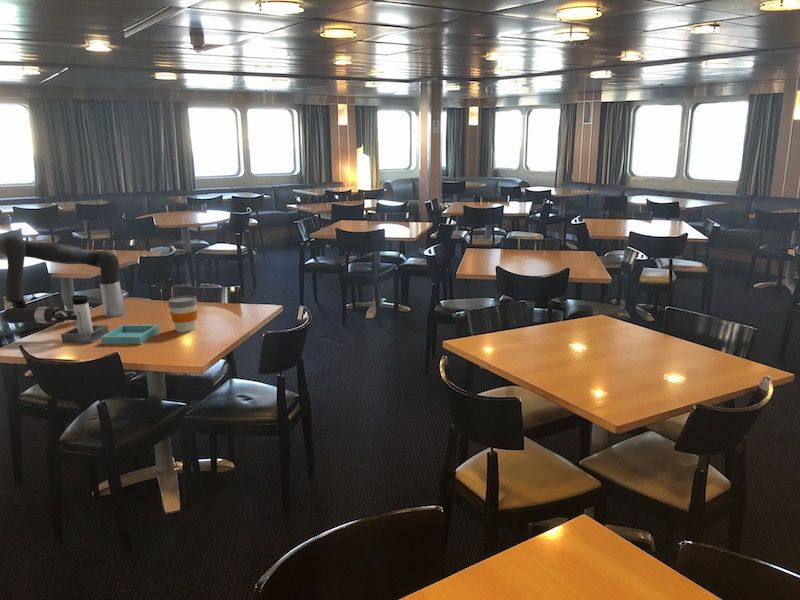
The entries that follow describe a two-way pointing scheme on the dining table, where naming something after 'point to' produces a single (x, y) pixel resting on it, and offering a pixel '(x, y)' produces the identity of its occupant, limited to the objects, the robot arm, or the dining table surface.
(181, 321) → the reusable coffee cup
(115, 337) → the teal tray
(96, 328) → the gray tray
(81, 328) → the travel mug
